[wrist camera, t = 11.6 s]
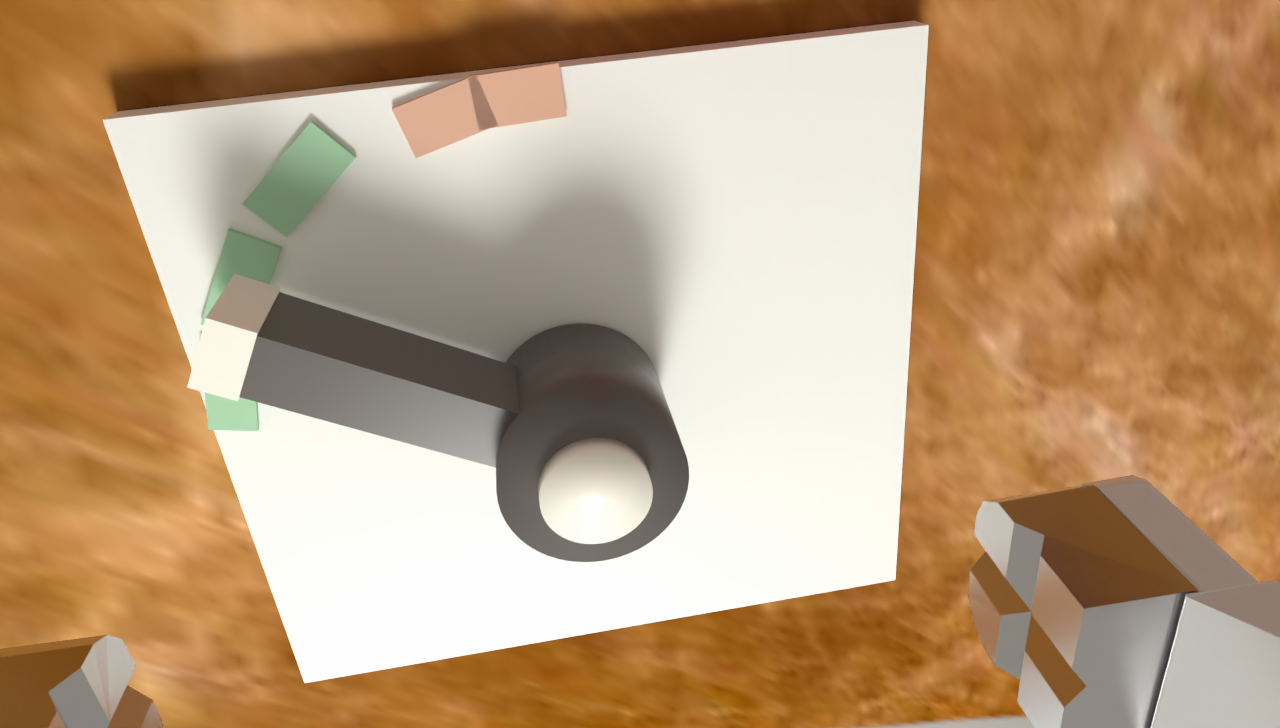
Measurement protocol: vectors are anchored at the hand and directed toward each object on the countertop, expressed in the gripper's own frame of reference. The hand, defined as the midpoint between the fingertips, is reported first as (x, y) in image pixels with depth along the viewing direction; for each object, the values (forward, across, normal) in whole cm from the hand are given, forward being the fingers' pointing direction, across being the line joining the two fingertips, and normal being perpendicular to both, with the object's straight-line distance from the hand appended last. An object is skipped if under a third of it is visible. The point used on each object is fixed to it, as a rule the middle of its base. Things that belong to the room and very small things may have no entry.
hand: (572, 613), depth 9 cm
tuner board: (+20, 0, +8) cm, 21 cm away
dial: (+18, +3, +6) cm, 20 cm away
